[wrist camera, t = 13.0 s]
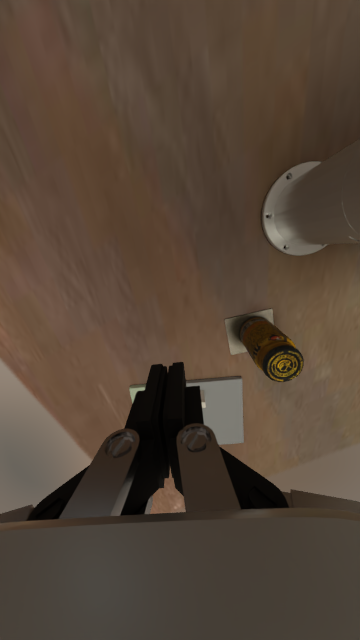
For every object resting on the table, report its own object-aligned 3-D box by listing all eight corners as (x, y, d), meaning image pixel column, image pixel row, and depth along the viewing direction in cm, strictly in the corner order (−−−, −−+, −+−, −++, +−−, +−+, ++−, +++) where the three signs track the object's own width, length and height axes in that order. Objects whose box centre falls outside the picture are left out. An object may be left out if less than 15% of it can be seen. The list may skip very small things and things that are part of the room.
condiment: (275, 345, 40) (312, 383, 29) (230, 354, 41) (248, 395, 29) (271, 308, 38) (309, 333, 26) (224, 318, 39) (240, 348, 27)
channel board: (240, 375, 42) (247, 390, 38) (242, 438, 47) (248, 457, 43) (130, 385, 43) (124, 400, 39) (143, 445, 48) (139, 465, 44)
